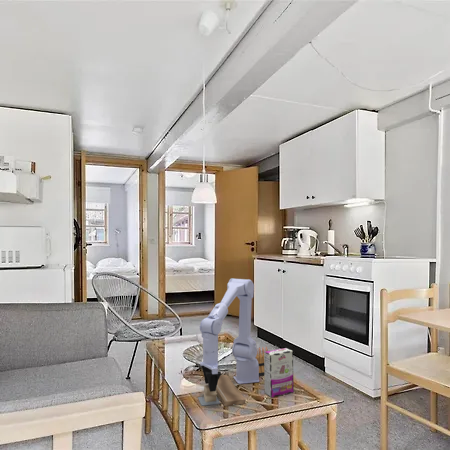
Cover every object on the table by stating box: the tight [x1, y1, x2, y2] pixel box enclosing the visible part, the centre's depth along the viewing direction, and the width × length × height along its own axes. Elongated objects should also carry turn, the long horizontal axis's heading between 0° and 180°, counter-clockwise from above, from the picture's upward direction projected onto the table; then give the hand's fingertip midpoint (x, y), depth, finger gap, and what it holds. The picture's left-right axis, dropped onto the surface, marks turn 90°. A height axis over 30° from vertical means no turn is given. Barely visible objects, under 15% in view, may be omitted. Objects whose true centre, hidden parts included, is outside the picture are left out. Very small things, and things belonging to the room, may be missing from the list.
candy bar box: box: [263, 347, 295, 398], centre depth 143 cm, size 11×5×16 cm, turn 117°
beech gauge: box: [203, 383, 217, 402], centre depth 135 cm, size 4×3×6 cm
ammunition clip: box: [256, 346, 269, 377], centre depth 164 cm, size 11×2×12 cm, turn 113°
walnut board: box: [216, 374, 247, 407], centre depth 144 cm, size 8×26×2 cm, turn 16°
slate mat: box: [197, 396, 221, 407], centre depth 135 cm, size 7×7×1 cm
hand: (210, 387), depth 135 cm, fingers open, 7 cm apart
